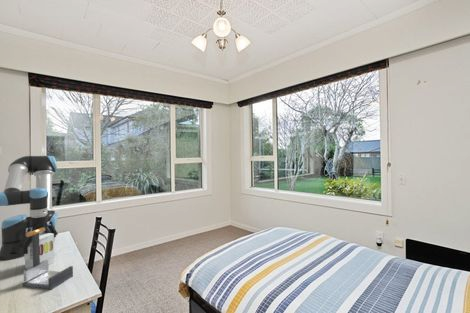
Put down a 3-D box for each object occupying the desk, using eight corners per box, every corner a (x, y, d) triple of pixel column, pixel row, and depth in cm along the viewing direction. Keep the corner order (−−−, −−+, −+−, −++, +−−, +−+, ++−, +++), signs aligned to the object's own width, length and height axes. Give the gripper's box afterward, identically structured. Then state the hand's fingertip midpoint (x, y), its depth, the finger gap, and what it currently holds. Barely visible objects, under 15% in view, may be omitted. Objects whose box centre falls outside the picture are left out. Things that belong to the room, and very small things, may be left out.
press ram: (45, 269, 123) (44, 226, 123) (48, 269, 123) (48, 226, 122) (23, 281, 113) (22, 233, 112) (27, 281, 112) (26, 233, 112)
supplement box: (38, 270, 127) (37, 239, 127) (24, 268, 129) (23, 237, 129) (54, 262, 137) (54, 233, 136) (41, 260, 138) (41, 231, 138)
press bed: (46, 273, 124) (46, 263, 124) (72, 276, 121) (72, 266, 121) (22, 286, 112) (22, 275, 112) (51, 289, 110) (50, 278, 109)
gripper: (21, 223, 119) (22, 264, 120) (64, 210, 144) (65, 245, 144) (8, 222, 120) (9, 263, 121) (53, 210, 145) (54, 244, 146)
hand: (39, 253), depth 133 cm, fingers open, 13 cm apart
